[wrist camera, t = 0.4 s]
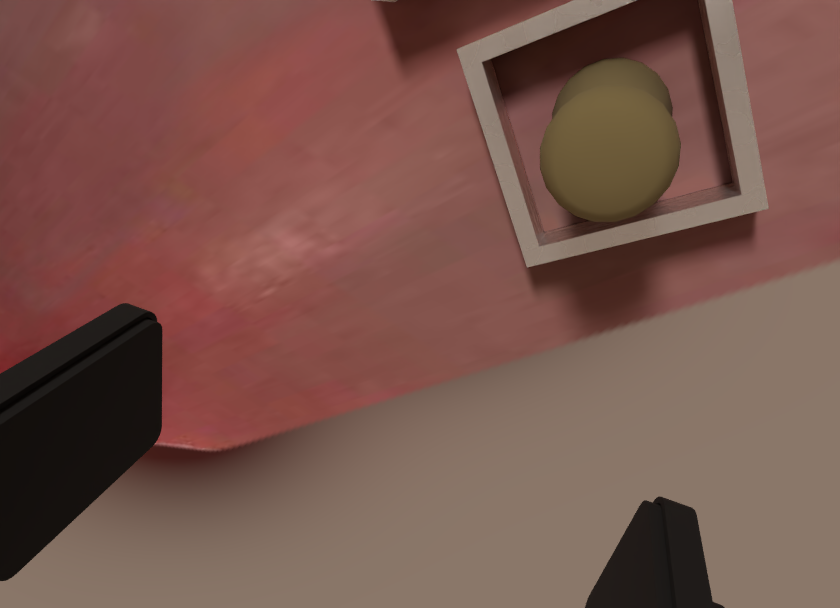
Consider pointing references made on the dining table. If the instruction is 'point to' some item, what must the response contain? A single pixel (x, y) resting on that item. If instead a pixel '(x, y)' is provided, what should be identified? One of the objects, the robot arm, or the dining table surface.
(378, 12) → the dining table surface
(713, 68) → the collar
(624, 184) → the cork
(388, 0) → the tray
